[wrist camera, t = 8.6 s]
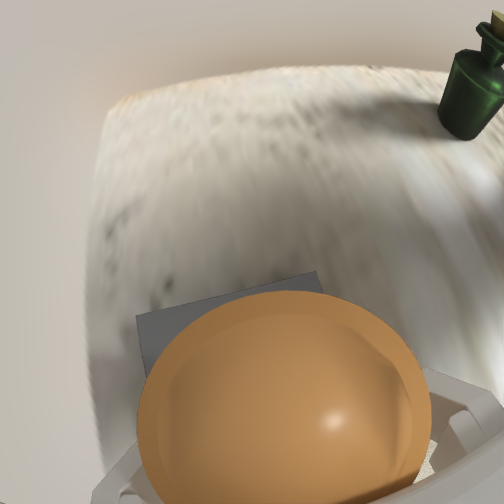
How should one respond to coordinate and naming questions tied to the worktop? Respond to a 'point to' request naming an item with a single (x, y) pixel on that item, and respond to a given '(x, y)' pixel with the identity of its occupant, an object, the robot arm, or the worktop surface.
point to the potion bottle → (475, 83)
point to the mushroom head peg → (284, 406)
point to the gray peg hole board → (178, 318)
